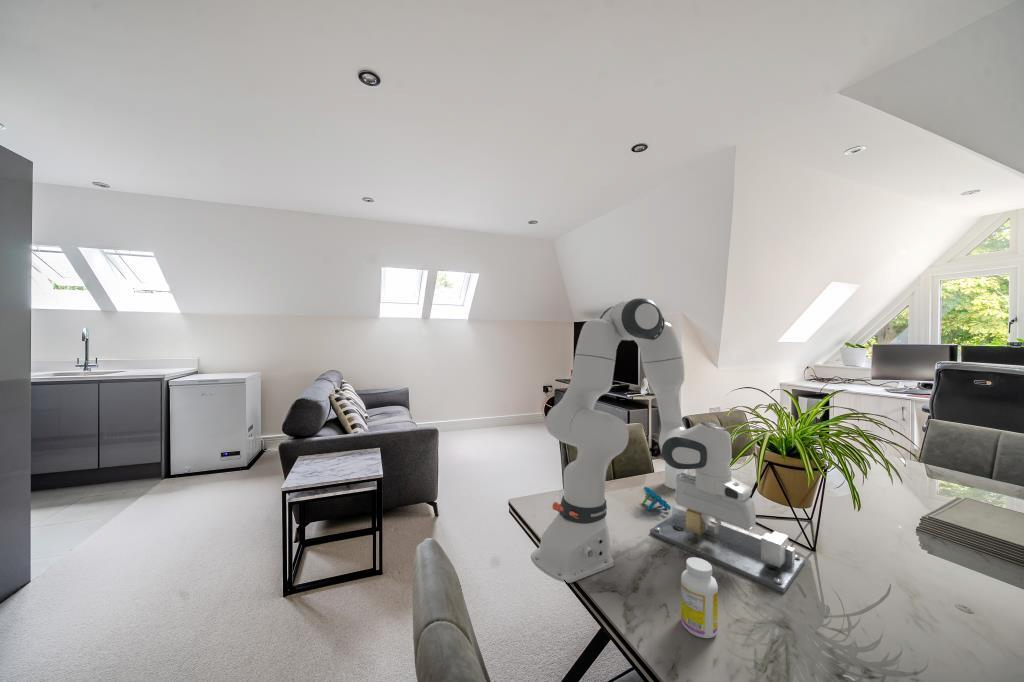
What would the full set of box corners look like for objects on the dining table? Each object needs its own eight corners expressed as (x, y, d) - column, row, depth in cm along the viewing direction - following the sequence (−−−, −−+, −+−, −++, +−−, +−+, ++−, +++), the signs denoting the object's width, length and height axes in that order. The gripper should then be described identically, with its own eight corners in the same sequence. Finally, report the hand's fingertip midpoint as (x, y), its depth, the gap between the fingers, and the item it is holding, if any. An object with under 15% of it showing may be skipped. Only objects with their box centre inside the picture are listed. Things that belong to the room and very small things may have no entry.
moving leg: (699, 540, 104) (700, 514, 104) (685, 534, 107) (685, 509, 107) (712, 530, 109) (712, 505, 109) (698, 524, 112) (699, 500, 112)
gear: (677, 510, 121) (656, 489, 121) (667, 525, 120) (645, 503, 120) (659, 500, 132) (639, 481, 132) (649, 513, 131) (629, 494, 131)
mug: (698, 492, 139) (699, 460, 139) (679, 494, 137) (679, 462, 137) (678, 480, 151) (678, 451, 151) (659, 482, 149) (659, 452, 149)
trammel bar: (784, 577, 89) (785, 546, 88) (661, 525, 112) (662, 501, 112) (795, 563, 94) (795, 534, 94) (675, 516, 118) (675, 494, 118)
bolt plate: (783, 593, 85) (783, 585, 85) (650, 533, 110) (650, 527, 110) (804, 562, 96) (804, 556, 96) (679, 515, 122) (679, 509, 121)
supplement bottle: (705, 614, 78) (706, 553, 78) (724, 639, 72) (725, 574, 71) (674, 614, 78) (675, 554, 78) (690, 640, 71) (691, 574, 71)
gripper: (671, 473, 109) (670, 520, 109) (749, 497, 93) (748, 551, 93) (681, 468, 113) (680, 513, 113) (758, 490, 97) (757, 543, 97)
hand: (712, 531), depth 103 cm, fingers closed
